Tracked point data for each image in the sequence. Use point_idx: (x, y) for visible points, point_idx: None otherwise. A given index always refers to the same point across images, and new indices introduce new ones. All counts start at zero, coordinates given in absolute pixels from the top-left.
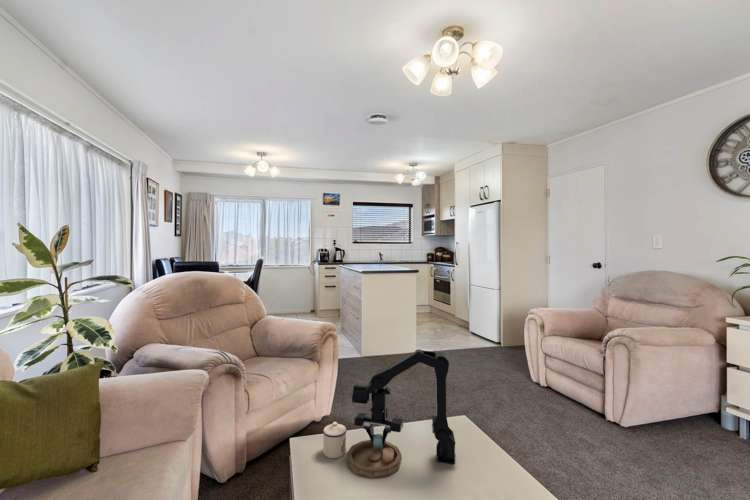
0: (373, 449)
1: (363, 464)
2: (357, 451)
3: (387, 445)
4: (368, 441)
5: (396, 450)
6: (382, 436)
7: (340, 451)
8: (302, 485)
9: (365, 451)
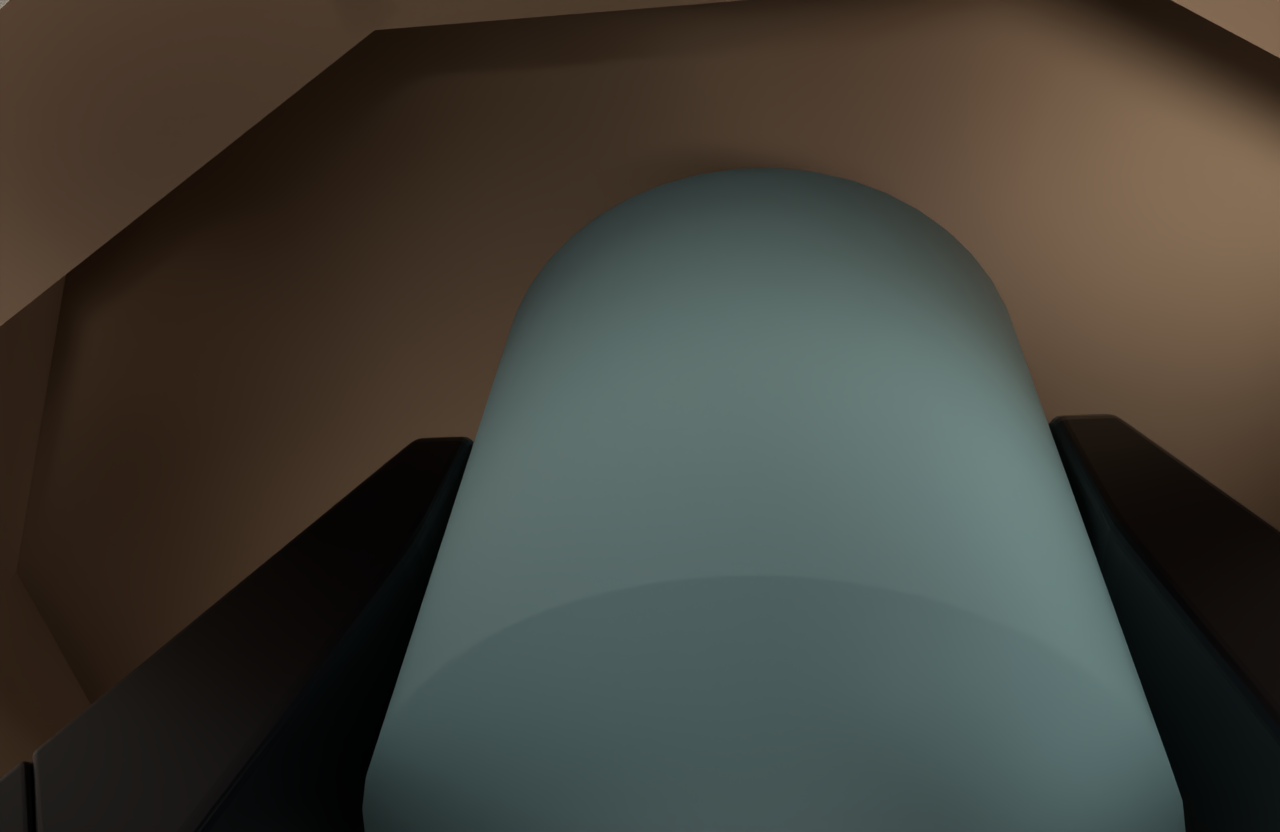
0: (520, 260)
1: None
2: (76, 543)
3: (1220, 17)
4: (68, 174)
5: None
6: (1100, 811)
7: None
8: None
9: (309, 464)
